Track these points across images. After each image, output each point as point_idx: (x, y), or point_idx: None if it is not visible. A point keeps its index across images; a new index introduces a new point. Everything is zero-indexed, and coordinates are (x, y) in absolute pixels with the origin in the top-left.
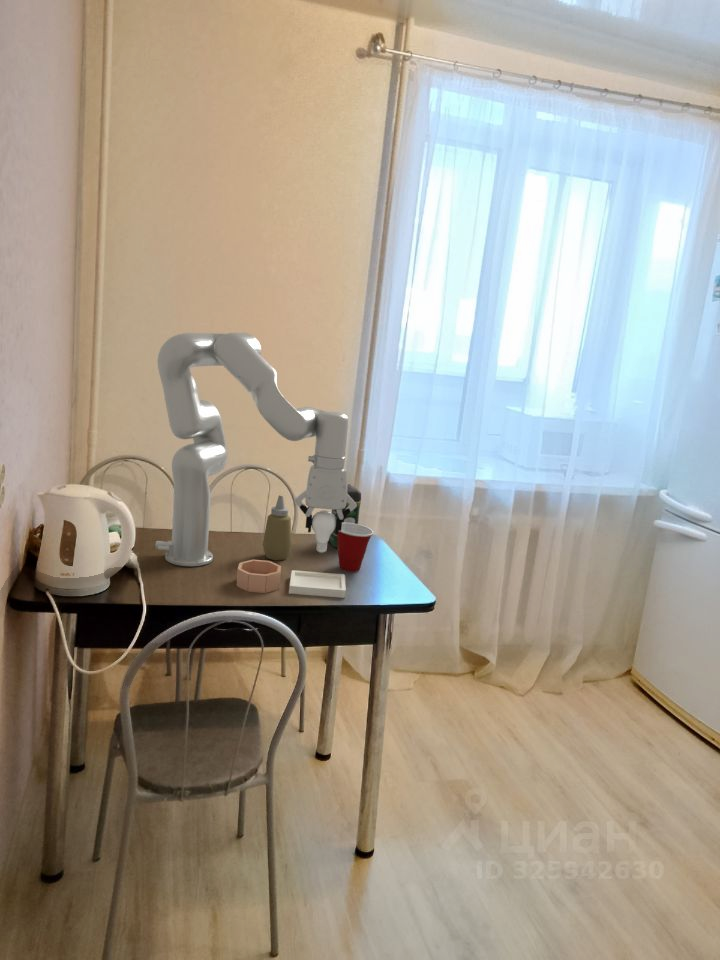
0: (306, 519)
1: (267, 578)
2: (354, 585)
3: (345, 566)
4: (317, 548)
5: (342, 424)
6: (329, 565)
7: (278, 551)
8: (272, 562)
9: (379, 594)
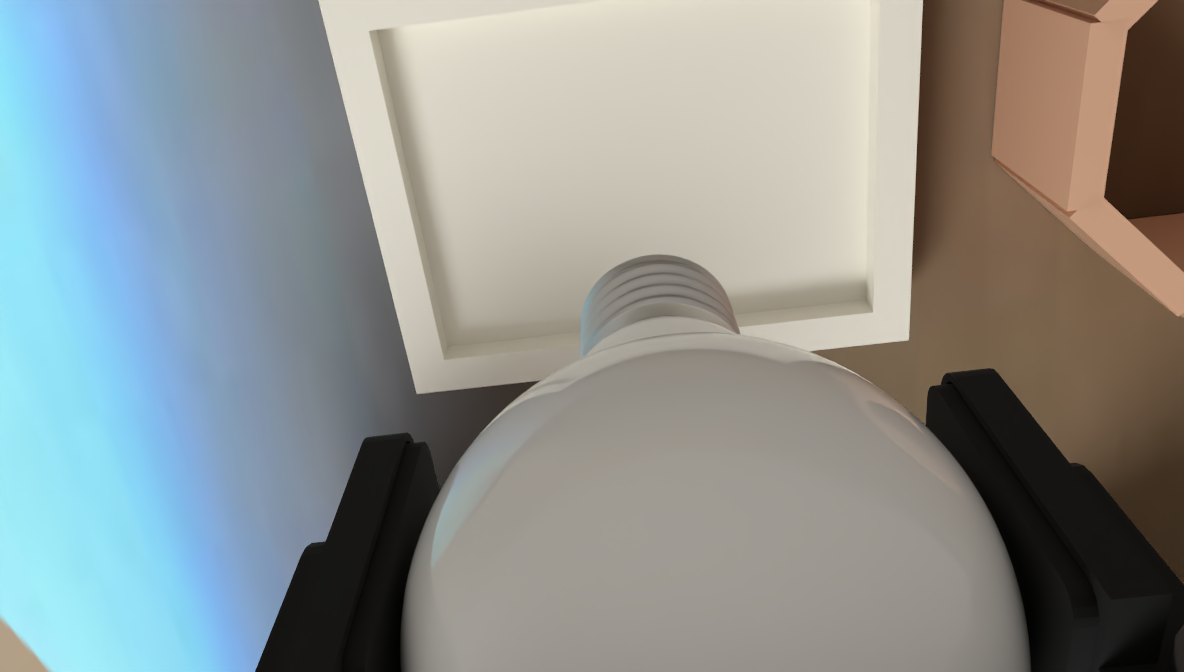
0: (1175, 586)
1: None
2: (324, 309)
3: None
4: (716, 294)
5: None
6: None
7: None
8: (1157, 286)
9: (59, 180)
